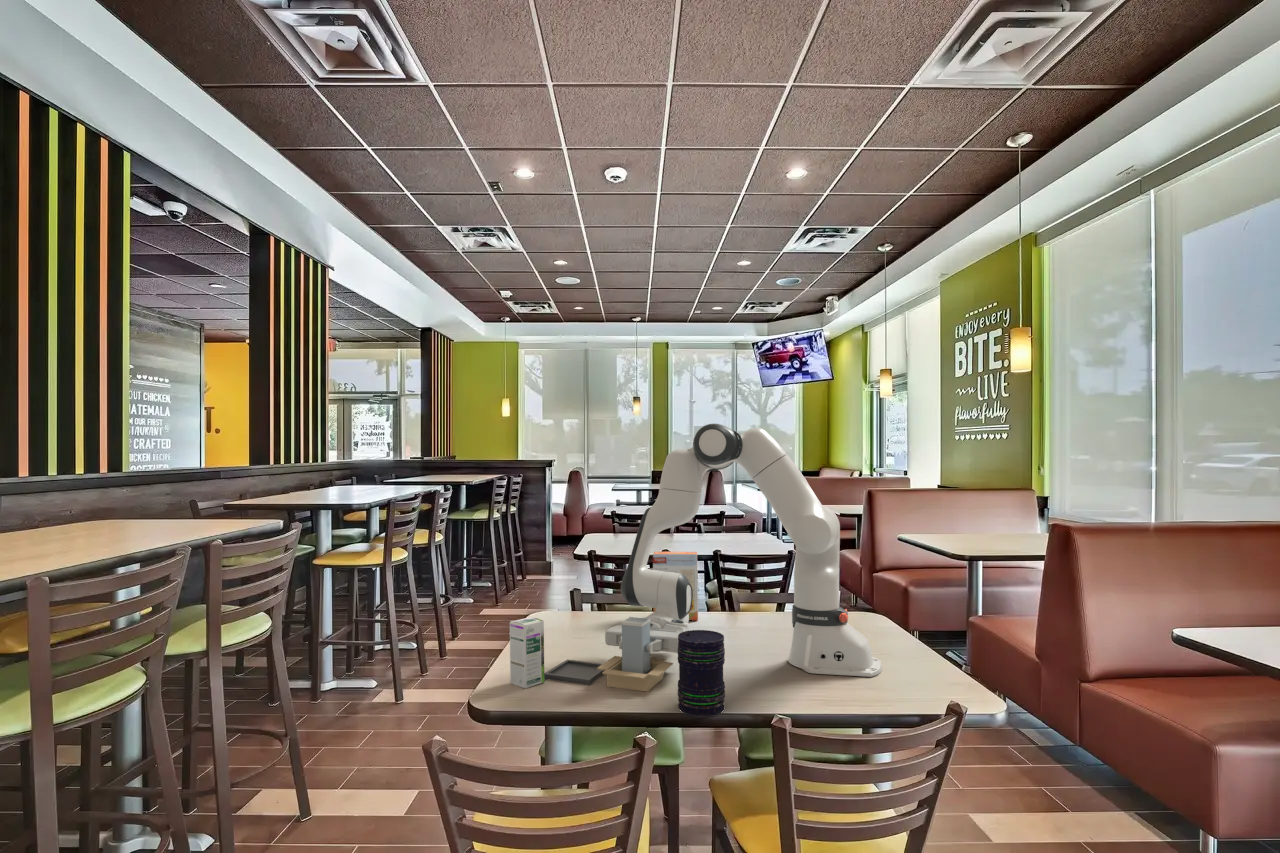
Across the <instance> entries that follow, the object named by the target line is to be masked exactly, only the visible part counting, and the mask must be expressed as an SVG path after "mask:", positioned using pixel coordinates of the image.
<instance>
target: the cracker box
mask: <svg viewBox="0 0 1280 853" xmlns="http://www.w3.org/2000/svg"><path fill="white" fill-rule="evenodd" d="M652 570H658V571H665V572H666V571H667V572H674V573H679V574H684V575H685V576H686V578H687V579H688V580H689V582H690V584H691V586H692V590H693V600H692V606H691V610H690V612H689V613H688V614H689V620H692V621H696V622H697V621H699V593H698V592H699V590H698V588H699V587H698V585H699V584H698V583H699V582H698V578H699V577H698V574H699V573H698V572H699V571H698V551H654V552H653V554H652ZM656 609H657V608H653V612H652V613H654V612H655V611H656Z"/></svg>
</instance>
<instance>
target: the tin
mask: <svg viewBox="0 0 1280 853" xmlns="http://www.w3.org/2000/svg"><path fill="white" fill-rule="evenodd" d="M620 625H622V649H621V657H622V671H625V672H633V673H641V674H648V673H649V672H650V657H651V652H645V644H646V643H647V642H648V643H650V619H647V618H645V617H636V616H635V617H634V616H629V617H628V618H626V619H624V620H622V621H621V623H620Z"/></svg>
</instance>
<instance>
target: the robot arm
mask: <svg viewBox="0 0 1280 853" xmlns="http://www.w3.org/2000/svg"><path fill="white" fill-rule="evenodd" d="M733 463H736V464H739V465H740V466H741V467H742V468H744V470H745V471H746V472H747V474H748V475H749V477H750V478H751V480H752V481H753V482H754V483H755V485H756V486H757V488H758V489H759V491H760V492H761V493H762V494H763V496H764V497H765V499H766V500H767V501H768V503H769V505H770V506H771V507H772V509H773V511H774V513H775V515H776V516H777V518H778V519H779V521H780V523H781V525H782V527H783V528H784V529H785V531H786V533H787V534H788V536H789V539H791V540H792V542H793V544H794V546H795V558H794V570H793V600H794V601H793V605H792V609H791V624H792V628H793V632H792V639H791V647H790V650H789V655H788V658H787V661H788V663H789V664H790V665H792V666H794V667H797V668H798V669H802V670H803V671H805V672H806V673H809V674H817V675H832V676H833V675H834V676H835V675H837V676H851V677H852V676H855V677H869V678H870V677H875V676H877V675H879V674H880V673H881V671H882V669H883V667H882V662H881V660H880V659H879V658H877V657H875V656H873V653H872V647H871V644H870V642H869V640H868V638H867V637H865V635H864V634H862V633H861V632H859V630H858V629H856V628H854V626H852V625H851V624H850V623H848V622H849V615H848V614H849V613H848V610H847V609H848V608H845V609H844V608H843V607H841V606H840V553H841V552H840V549H841V548H840V545H841V523H840V520H839V518H838V516H837V515H836V512H834V511H833V510H832V508H829V507H827V506H825V505H823V504H822V503H821V501H820V500H819V498H818V497H817V495H816V494H815V491H813V489H812V487H811V486H810V483H809V482H808V481H807V479H806V477H805V476H804V475H803V474H802V472H801V471H800V469H799V468H798V467H797V465H796V464H795V463H794V461H793V460H792V459H791V457H790V456H789V454H787V452H786V450H785V449H784V448H783V447H782V446H781V445H780V444H779V442H777V440H776V439H775V438H774V437H773V436H772V435H771V434H770V433H768V432H767V430H765V429H763V428H761V427H753V428H750V429H747V430H745V431H744V432H742V433H741V434H740V432H738V431H736V430H735V429H732V428H730V427H728V426H726V425H723V424H720V423H709V424H706V425H703V426H702V427H700V428H699V429H698V430H697V431H696V433H695V434H694V438H693V441H692V447H690V448H678V449H675V450H672V451H670V452H669V453H668V454H667V455H666V458H665V461H664V465H663V468H662V473H661V477H660V481H659V488H658V495H657V497H656V499H655V502H654V503H653V504H652V506H650V507H647V508H646V509H645V511H644V513H643V515H642V518H641V520H640V523H639V525H638V530H637V533H636V536H635V540H634V543H633V547H632V550H631V555H630V557H629V559H628V560H629V561H628V564H627V566H626V569H625V571H624V573H623V574H624V575H623V577H622V579H621V582H620V594H621V596H622V597H623V600H625V602H626V603H627V604H628V605H629V606H632V607H647V608H657V609H656V611H655V612H654V613H653V612H652V613H650V614H648V615H647V616H646V617H644V618H647V619H650V643H648V642H647V643H646V644H645V652H650V653H653V652H654V653H655V652H668V653H676V654H678V642H679V641H678V635H679V634H680V633H682V632H685V631H690V630H689V629H690V628H689V614H688V613H689V612H690V610H691V606H692V600H693V590H692V586H691V584H690V582H689V580H688V579H687V578H686V576H685V575H684V574H679V573H674V572H667V571H666V572H665V571H658V570H653V568H652V569H650V568H648V566H647V565H648V562H649V557H650V554H651V550H652V546H653V544H654V541H655V538H656V536H657V535H658V534H659V533H661V532H662V531H664V530H668V529H670V528H675V527H678V526H681V525H684V524H686V523H688V522H690V521H691V520H692V519H694V518H695V516H696V515H697V514H698V512H699V508H700V503H701V498H702V488H703V487H702V486H703V481H704V480H703V479H704V476H705V474H706V473H709V472H713V471H720V470H724V469H727V468H728V467H730V466H731V465H732V464H733ZM604 643H605V644H606V645H607V646H612V647H618V649H619V650H622V625H621V624H617V625H614V626H611V627H609V628H607V629H605V633H604Z"/></svg>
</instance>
